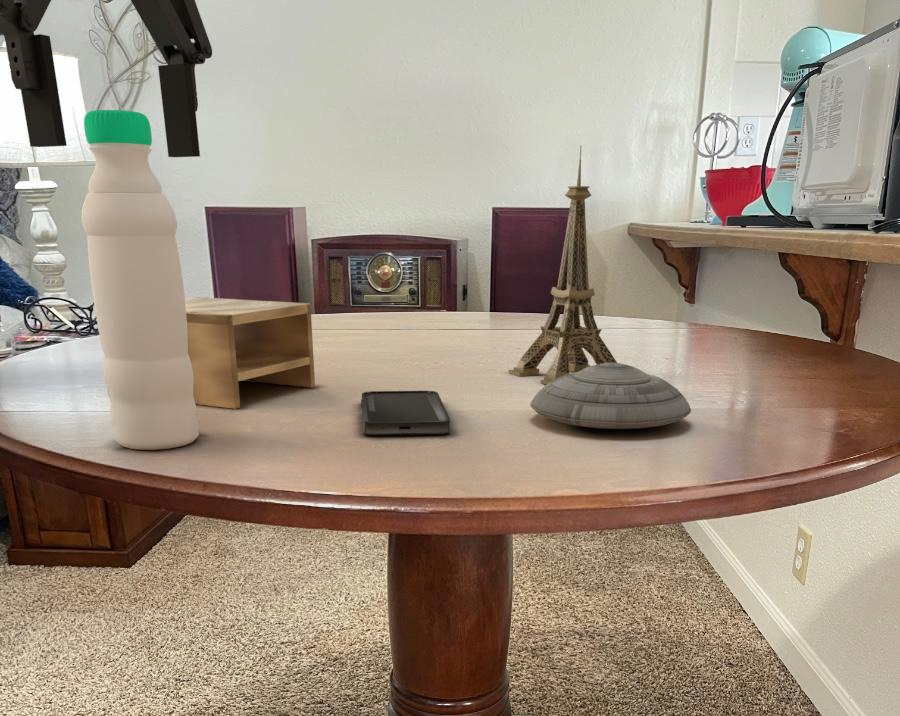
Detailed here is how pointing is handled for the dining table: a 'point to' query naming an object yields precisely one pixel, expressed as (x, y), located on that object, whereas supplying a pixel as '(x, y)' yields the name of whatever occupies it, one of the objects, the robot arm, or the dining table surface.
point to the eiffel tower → (569, 305)
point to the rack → (247, 346)
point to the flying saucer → (611, 399)
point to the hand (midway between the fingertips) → (122, 152)
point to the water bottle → (137, 287)
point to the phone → (404, 413)
